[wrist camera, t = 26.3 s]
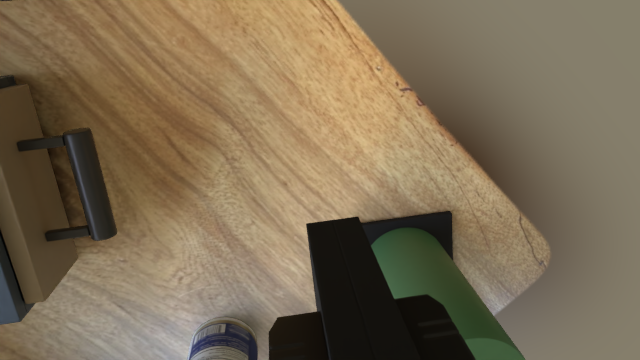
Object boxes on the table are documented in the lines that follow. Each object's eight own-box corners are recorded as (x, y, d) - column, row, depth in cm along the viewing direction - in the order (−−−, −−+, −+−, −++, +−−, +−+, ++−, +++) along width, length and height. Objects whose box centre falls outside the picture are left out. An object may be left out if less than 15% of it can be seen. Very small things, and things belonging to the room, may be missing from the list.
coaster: (451, 299, 42) (453, 302, 42) (356, 313, 42) (358, 316, 41) (449, 210, 39) (452, 212, 39) (348, 224, 39) (349, 227, 38)
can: (445, 295, 41) (529, 429, 28) (365, 307, 41) (412, 448, 28) (443, 221, 39) (533, 329, 26) (359, 233, 39) (407, 348, 26)
